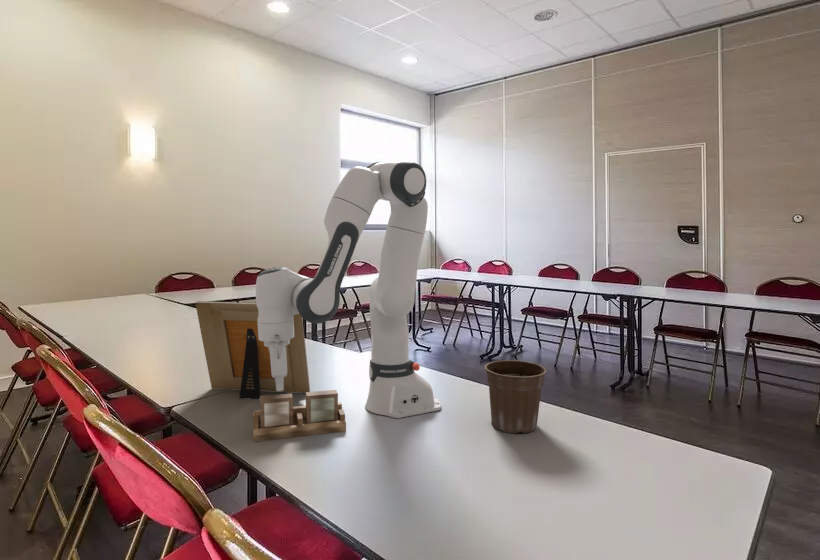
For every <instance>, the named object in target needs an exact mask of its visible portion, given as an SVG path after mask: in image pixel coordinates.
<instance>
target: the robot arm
mask: <svg viewBox="0 0 820 560" xmlns="http://www.w3.org/2000/svg"><path fill="white" fill-rule="evenodd" d="M426 188H427V176H426V173H425V170H424V168H423V167H422V166H421V165H420V164H418V163H416V162H415V161H412V160H407V159H405V160H401V159H400V160H397V159H390V160H385V161H375V162H373V163H371V164H369V165H368V166H366V167H364V166H354V167H351V168H350V169H349V170H348V171H347V172H346V173H345V175H344V176H343V178H342V179H341V181H340V182H339V184H338V186H337V187H336V189H335V191H334V193H333V194H332V197H331V199H330V201H329V204H328V205H327V208H326V212H325V216H324V220H323V223H324V228H325V230H326V233H327V237H328V244H327V247H326V249H325V252H324V255H323V258H322V260H321V263H320V265H319V267H318V270H317V272H316V274H315V276H314V277H313V278H312V277H308V276H306V275H301V274H300V273H298V272H297V273H296V272H294V271H293V270H290V269H289V268H288V267H287V266H278V267H277V266H275V267H272V268H267V269H265V270H262V271H260V273H259V274H258V275H257V278H256V282H255V303H256V305H257V308H258V319H257V324H258V339H259V340H260V341H263V342H264V346H266V347H268V349H269V354H270V362H271V374H272V377H273V378H275V382H276V390H277V391H283V390H284V377H285V376H287V359H286V347H285V346H286V345H288V344H290V341H289V340H290V339H292V338H293V337H294V320H293V316H294V315H295V314H300V315H301V316H302V318H303V320H304V321H306V322H309V323H310V324H316V325H317V324H324V323H326V322H328V321H330V320H331V319H333V317H334V316H335V315H336V314H337V312H338V311H339V307H340V301H341V300H340V298H341V296H340V294H341V286H342V284H343V283H342V282H343V280H344V278H345V275H346V272H347V269H348V267H349V264H350V262H351V260H352V257H353V254H354V252H355V249H356V246H357V244H358V242H359V240H360V237H361V235H362V234H363V232H364V230H365V227H366V225H367V224H368V222H369V219H370V217H371V215H372V212H373V210H374V208H375V205H376V204H377V202H378V201H379V200H383V201H387V202H389V204H390V215H389V219H388V221H387V225H386V230H385V235H384V238H383V244H382V248H381V251H380V264H379V271H378V277H377V278H375V279H374V280H372V282H371V284H370V286H369V291H368V293H369V294H368V297H369V298H368V299H369V303H368V304H369V319H370V330H371V331H370V333H371V338H370V340H371V341H370V342H371V344H370V345H371V346H370V347H371V348H370V351H371V354H370V358H371V359H370V360H369V367H368V370H369V371H368V375H369V376H368V377H369V380H370V381H369V387H368V389H369V390H368V395H367V399H366V403H365V407H364V408H365V410H366V411H369V412H370V413H373V414H376V415H382V416H387V417H391V418H393V419H394V418H395V419H400V418H406V417H410V416H417V415H421V414H426V413H427V414H428V413H431V412H437V411H438V412H439V411H440V410H441V409H442V404H441V401H440V399H438V397H436V396H434V390H433V388H432V386H431V384H430V383H429V382H428V381H427V380H426V379H424V377H422V376H421V375H420V374H418V373H417V372H418V371H420V369H421V366H420V364H418V363H417V362H415V361H413V360H411V359H409V358H410V357H409V355H410V354H409V352H410V350H409V349H410V347H409V346H410V332H409V327H408V326H409V325H408V319H407V315H408V314H409V313H411V311H412V310H413V308H414V305H415V299H416V298H415V295H416V285H417V280H418V279H417V278H418V268H419V267H418V266H419V259H420V255H421V250H422V246H423V242H424V237H425V235H426V234H425V233H426V227H427V222H428V211H429V210H428V207H429V205H428V202H427V201H428V200H427V199H426V198H425V194H426Z"/></svg>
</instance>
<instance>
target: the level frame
mask: <svg viewBox="0 0 820 560" xmlns="http://www.w3.org/2000/svg"><path fill="white" fill-rule="evenodd" d="M338 397H339V393H338V391H337V389H331V390H330V389H329V390H317V391H310V392H306V393H305V400H306V424H310V423H320V422H329V421H338V403H339V398H338Z"/></svg>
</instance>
